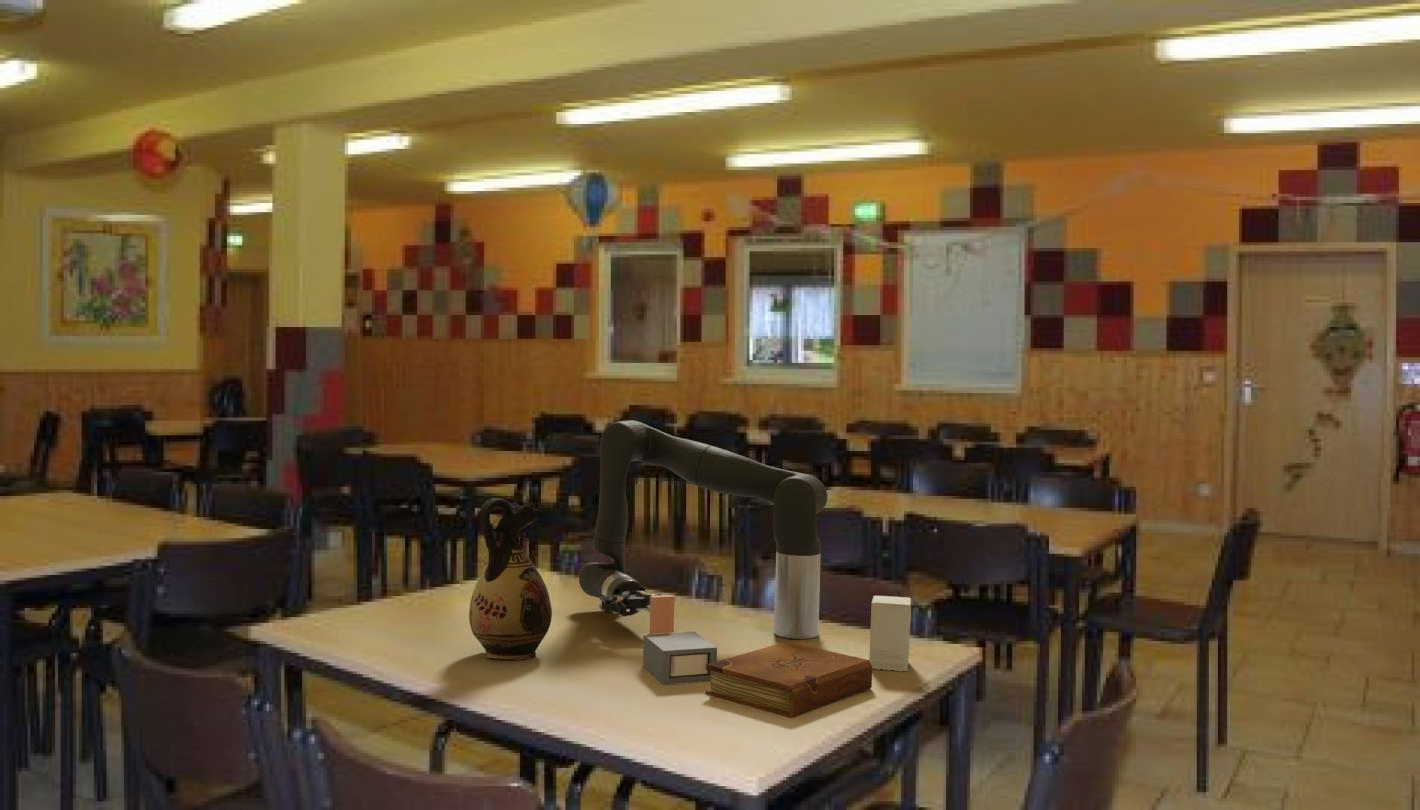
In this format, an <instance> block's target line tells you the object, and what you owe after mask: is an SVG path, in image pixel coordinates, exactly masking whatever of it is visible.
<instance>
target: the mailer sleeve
mask: <svg viewBox="0 0 1420 810" xmlns="http://www.w3.org/2000/svg"><path fill="white" fill-rule="evenodd" d="M679 632H680V633H664V634H650V633H647V634H648V635H644V634H643V635H642V637H643V638H642V641H643V643H642V668H643V669H645V671H647V673H648V674H650V675H651V676H652V677H653V678H654V679H655V680H656V681H657V682H659V684H661V685H662V686H666V685H680V684H692V683H693V684H694V683H705V682H711V671H709V670H707V674H696V675H682V676H670V655H679V654H693V653H707V654H708V664H709V663H713V662H716V661H718V646H716V645H715V644H713V643H712V642H710V641H709V640H707V639H706V638H705V637H703V636H702V635H700V634H699V633H697V632H696V631H691V632H689V631H679Z"/></svg>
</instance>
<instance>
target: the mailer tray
mask: <svg viewBox="0 0 1420 810" xmlns="http://www.w3.org/2000/svg"><path fill="white" fill-rule="evenodd" d="M675 602H676V601H675V595H674V594H667V595H662V596H658V595H656V596H650V605H649V607H650V611H649V633H644V634H643V635H648V634H664V633H680V632H681V631H675V630H674V629H675ZM688 632H692V631H689V630H688ZM706 664H708V654H707V653H693V654H679V655H670V676H682V675H696V674H707V670H706Z"/></svg>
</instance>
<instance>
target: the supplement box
mask: <svg viewBox="0 0 1420 810" xmlns="http://www.w3.org/2000/svg"><path fill="white" fill-rule="evenodd" d="M911 598H912V597H906V596H905V597H903V596H892V595H891V596H888V595H873V597H872V600H871V607H870V608H871V609H870V611H871V612H870V630H869V631H870V633H869V635H870V636H869V658H868V660H869V661H870V663H871V665H872V670H880V669H883V671H891V670H894V672H903V671H906V672H908V671H909V658H910V657H909V656H910V645H911V643H910V641H911V640H910V639H911V622H912V621H911V618H912V617H911V615H912V599H911Z"/></svg>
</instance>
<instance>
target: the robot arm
mask: <svg viewBox="0 0 1420 810" xmlns="http://www.w3.org/2000/svg"><path fill="white" fill-rule="evenodd" d="M599 446H600V448H599V451H600V453H599V457H600V460H599V462H600V463H599V464H600V465H599V466H600V469H599V498H598V508H597V509H598V511H597V516H596V523H595V528H594V534H593V535H594V536H593V541H592V548H593V550H594V551H595V552H597V553H599V554H602V555H604V556H608V557H610V558H611V563H609V562H608V563H606V562H594V561H593V562H592V561H591V562H589V563H586V564H585V565H583V567H581V569H580V571H579V575H578V582H579V586H580V588H581V590H582V591H583V592H584V594H586V595H588V596H591V597H593V598H598V599H599V605H598V606H599V609H600V610H601V611H602V612H603V613H604V614H606V615H607V614H610V613H611V612H613V614H616V615H619V616H620V617H627V616H628V617H629V616H634V615H636V614H638V613H639V612H641V611H644V612H650V596H662V595H668V594H667V593H666V592H662V591H659V592H657V594H655V593H649V592H646V591H647V590H645V587H644V586H643V584H641V583H640V582H639V581H638V580H636V579H635V578H633V577H631V576H630V575H627V568H626V563H625V561H626V560H625V547H626V546H625V545H626V537H627V533H628V526H629V507H628V502H627V501H628V500H627V493H626V486H627V485H626V483H627V476H628V473H629V468H630V465H631V462H639V463H640V462H641V463H646V464H651V465H655V466H659V467H662V468H664V469H667V470H669V471H671V472H673V473H674V474H675V475H676V476H678V477H679V478H681V479H683V480H684V481H686V482H688V484H689V483H690V484H691V485H694V486H696V487H700V488H703V489H706V490H709V491H712V492H714V493H715V492H716V493H720V494H724V495H729V496H730V495H732V496H738V497H747V498H754V499H755V498H756V499H760V500H764V501H767V502H769V503H772V504H773V505H772V506H773V509H772V510H773V537H774V541H775V543H776V545H775V547H776V549H775V551H776V553H775V583H774V584H775V589H774V590H775V592H774V615H773V616H774V618H773V620H774V621H773V622H774V623H773V624H774V625H773V634H774V635H775V636H779V637H780V638H781V637H782V638H786V639H793V640H795V639H796V640H801V639H813V638H815V637H817V636H819V624H820V623H819V619H820V617H819V616H820V615H819V614H820V592H821V591H820V589H821V588H820V587H821V584H820V583H821V582H820V581H821V580H820V579H821V553H822V550H821V549H822V542H821V540H820V538H819V536H818V534H817V533H818V532H817V515H818V514H819V513H821V512H822V510H824V509H825V507H826V506H827V505H826V504H827V502H828V498H829V497H828V491H827V488H826V487H825V485H824V483H823V482H822V481H821V480H820V479H819V478H817V477H815V476H814V475H811V474H809V473H802V472H797V471H791V470H787V469H782V468H778V467H773V466H769V465H767V464H764V463H761V462H759V461H757V460H753V459H751V458H749V457H745V456H744V455H740V454H738V453H735V452H732V451H729V450H726V449H723V448H721V447H717V446H714V445H710V444H707V443H703V442H700V441H695V440H692V439H691V440H690V439H688V438H682V437H677V436H673V435H671V434H669V433H665V432H664V431H661V430H659V429H657V428H654V427H652V426H650V425H648V424H646V423H643V422H641V421H637V420H621V421H620V420H619V421H615V422H612V423H610V424H608V425H607V426H606V427H605V428H604V430H603V431H602V433H601V437H600V444H599Z"/></svg>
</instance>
